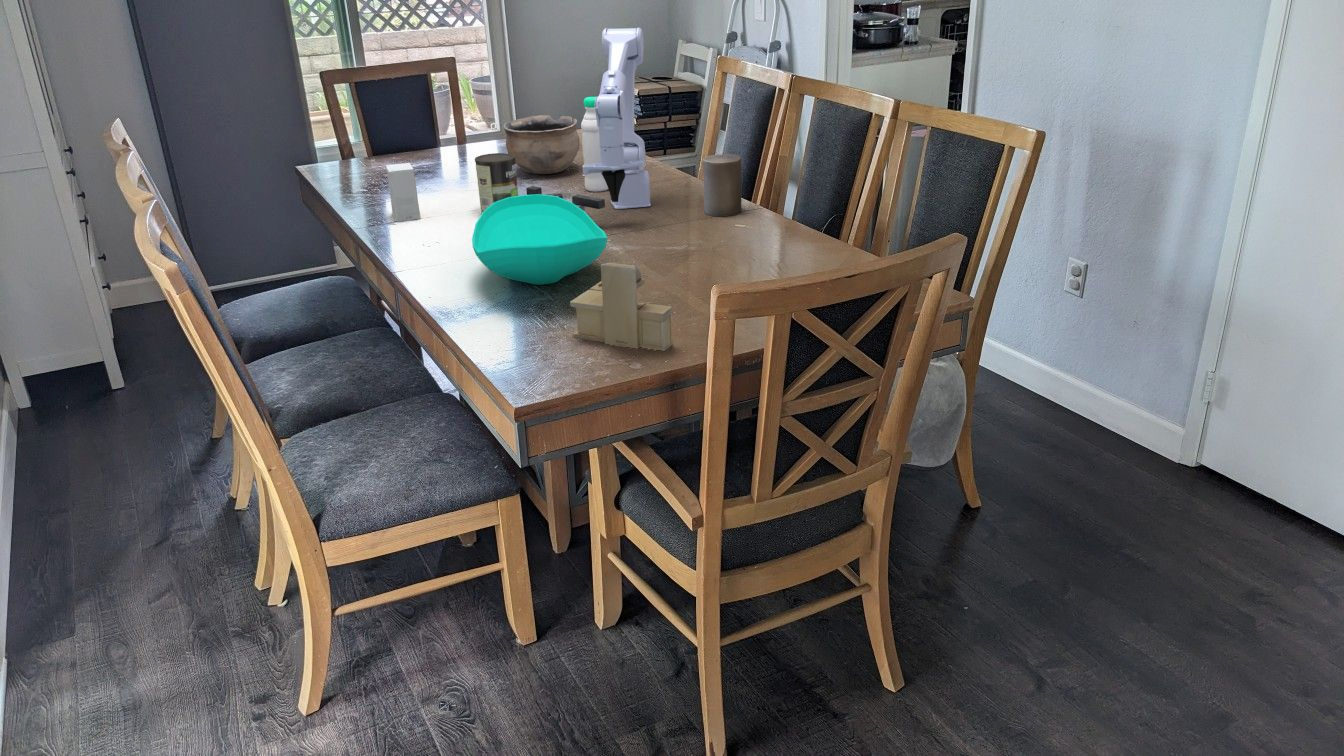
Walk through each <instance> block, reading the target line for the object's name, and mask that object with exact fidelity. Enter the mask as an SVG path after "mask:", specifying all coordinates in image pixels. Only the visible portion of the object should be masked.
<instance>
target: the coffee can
mask: <svg viewBox="0 0 1344 756" xmlns="http://www.w3.org/2000/svg"><path fill="white" fill-rule="evenodd" d="M474 163H475V169H476V177H477V186H478V196H479V204H480V213H481V214H482V213H483V211H484V210H486V209H487V208H488V207H489V206H491V205H492V204H493V203H494V202H497V201H499V200H502V199H505V198H508V197H514V196H519V189H518V186H519V185H518V178H517V177H518V176H517V164H516V163H515V155H513V154H508V152H505V153H504V152H499V153H498V152H497V153H496V152H495V153H487V154H482V155H478V156H476V157H474Z"/></svg>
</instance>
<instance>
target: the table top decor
mask: <svg viewBox="0 0 1344 756" xmlns="http://www.w3.org/2000/svg"><path fill="white" fill-rule="evenodd" d="M474 224H475V225H474V229H473V234H472V238H471V239H472V240H471V241H472V248H473V251H474V253H475V256H476V257H477V258H478V260H479V261H480V262H481V263H482V265H483V266H485V267H486V269H488V270H489V271H491V272H493V273H495V274H496V275H498V276H499V277H503V278H506V279H509V280H513V281H517V282H521V283H522V282H523V283H525V284H526V283H527V284H531V285H538V286H539V285H540V286H541V285H549V284H555V283H558V282H559V281H560V280H561V279H563V278H565V277H566V276H569V275H572V274H575V273H577V272H579V271H581V270H583V269H584V268H586V267H588V266H590V265H591V264H592V263H593V262H594V261H595V260H597V259H598V258H599V257H600V256H601V255H602V254H603V252H604V250H605V249H606V248H607V244H608V236H607V233H606V232H605V231H604V230H603V228H600V227H599V225H598V224H597V223H595V221H594V220H593V219H592V218H591V217H590V216H589V215H588V212H586V210H585V211H583V210H582V209H580V208H579V207H577V206H576V205H575V204H573V203H572V202H570V201H567V200H564V199H562V198H559V197H557V196H550V195H546V194H543V193H542V194H535V195H527V194H522V195H518V196H514V197H508V198H505V199H502V200H499V201H497V202H494V203H493V204H492V205H491V206H489V207H488V208H487V209H486V210H484V211H483V213H481V214H480V215H479V218H478V219H477V221H476V222H475V223H474Z"/></svg>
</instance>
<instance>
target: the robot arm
mask: <svg viewBox="0 0 1344 756" xmlns="http://www.w3.org/2000/svg"><path fill="white" fill-rule="evenodd" d="M643 32H644V31H643V30H642V28H641V27H637V28H634V27H631V28H608V27H605V28H604V29H603V30H602V33H601V34H602V35H601V47H602V52H603V54H604V57H605V60H606V62H607V64H608V66H607V67H608V68H607V69H608V70H607V71H605V72H604V73H603V74H602V78H601V83H600V89H599V94H598V96H595V97H596V98H595V114H596V118H597V126H598V127H599V139H600V157H601V163H595V164H589V165H584V164H582V174H583V175H584V176H585V175H588V174H592V173H601V174H602V176H603V177H604V180H605V182H606V184H607V186H608V192H609V195H610V204H611V205H612V206H613V209H615V210H622V209H623V210H624V209H636V208H645V207H646V208H647V207H651V205H652V204H651V190H650V189H651V187H650V176H649V172H648V170H647V169H644V168H645V166H646V159H647V158H646V157H647V156H646V149H645V148H646V147H645V144H646V143H645V141H644V139H643V138H642V137H641V136H639V135H638V134H637V133H636V132H635V87H636V86H635V83H636V82H635V76H636V70H637V67H638V66H639V65H642V64H643V61H644V46H645V45H644V42H645V41H644V33H643Z"/></svg>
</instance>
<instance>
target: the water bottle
mask: <svg viewBox="0 0 1344 756" xmlns="http://www.w3.org/2000/svg"><path fill="white" fill-rule="evenodd" d="M595 98H596V96H587V97H584V99H583V107H584V108H585V113H584V114H583V119H582V121H581V124H580V128H581V144H582V148H581V149H582V157H583V165H589V164H595V163H601V157H600V139H599V127H598V126H597V118H596V114H595ZM584 188H585V190H586V191H588V192H591V193H592V192H594V193H597V192H605V191H607V190H608V191H609V189H608V186H607V184H606V182H605V180H604V177H603V176H602V174H601V173H592V174H588V175H584Z"/></svg>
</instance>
